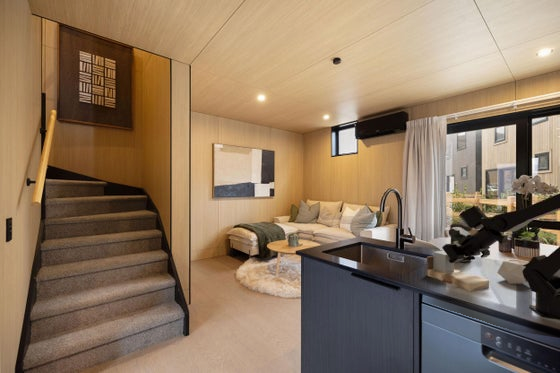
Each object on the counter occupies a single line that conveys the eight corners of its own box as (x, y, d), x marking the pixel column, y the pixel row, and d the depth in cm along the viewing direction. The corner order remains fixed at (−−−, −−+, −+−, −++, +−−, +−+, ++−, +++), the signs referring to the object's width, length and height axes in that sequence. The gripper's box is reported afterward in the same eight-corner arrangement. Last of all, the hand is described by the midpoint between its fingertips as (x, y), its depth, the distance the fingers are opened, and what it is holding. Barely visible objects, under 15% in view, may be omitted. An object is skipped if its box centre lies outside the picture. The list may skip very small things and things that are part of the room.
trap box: (488, 287, 91) (489, 266, 91) (469, 291, 88) (469, 269, 88) (444, 272, 107) (444, 254, 107) (426, 275, 103) (426, 256, 103)
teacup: (504, 273, 106) (504, 260, 106) (509, 270, 110) (509, 257, 110) (537, 281, 98) (538, 267, 98) (542, 277, 102) (542, 263, 102)
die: (532, 290, 90) (538, 266, 93) (507, 277, 92) (514, 254, 95) (512, 290, 98) (518, 267, 101) (489, 277, 99) (496, 256, 102)
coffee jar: (455, 256, 131) (456, 220, 131) (474, 260, 124) (474, 222, 124) (446, 259, 125) (447, 222, 125) (465, 263, 119) (466, 224, 119)
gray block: (454, 271, 100) (454, 253, 100) (445, 272, 99) (445, 255, 99) (441, 267, 105) (442, 250, 105) (433, 268, 103) (433, 251, 103)
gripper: (481, 220, 98) (452, 242, 108) (447, 222, 91) (420, 246, 101) (505, 245, 90) (472, 266, 101) (470, 249, 84) (438, 272, 94)
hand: (450, 262), depth 99 cm, fingers closed, pressing on gray block
